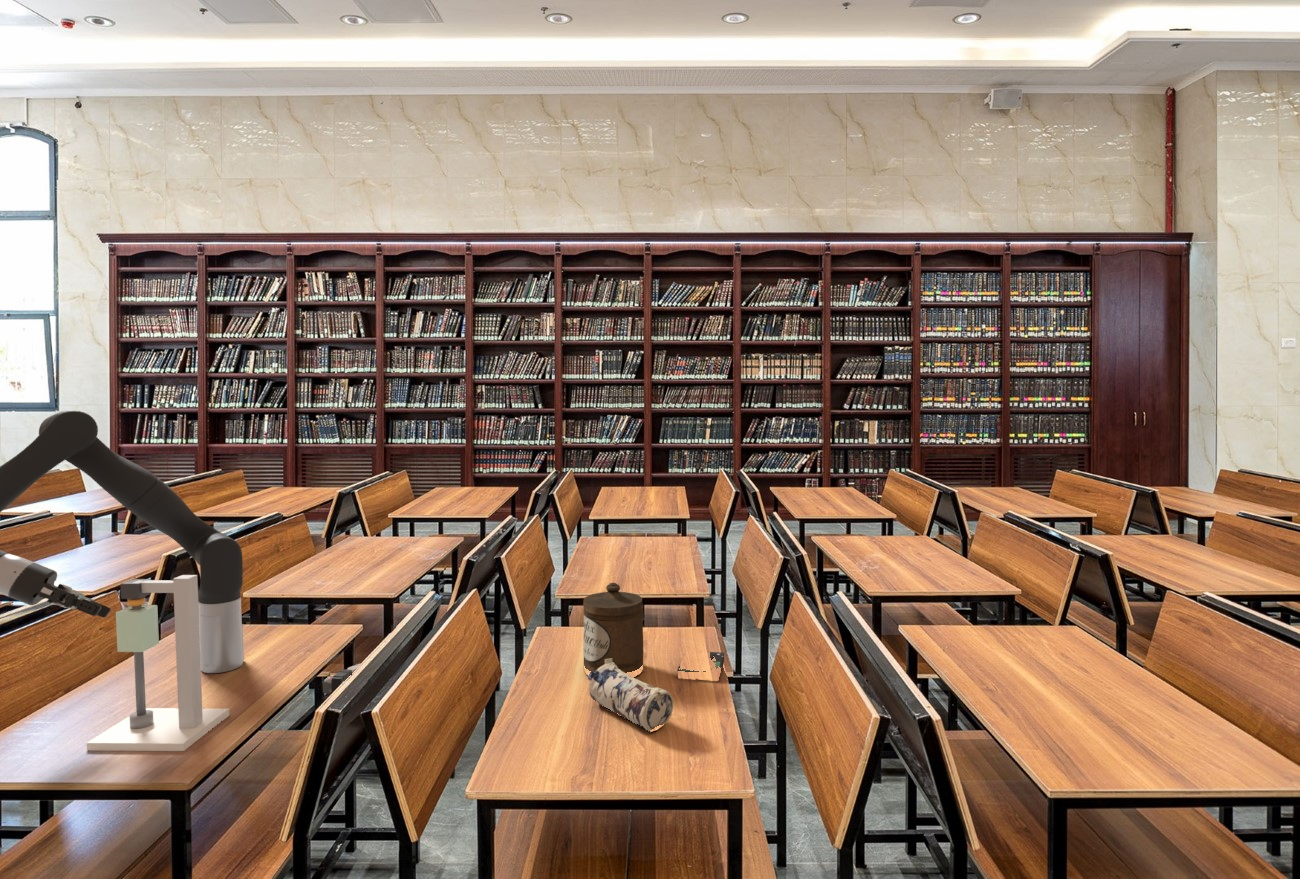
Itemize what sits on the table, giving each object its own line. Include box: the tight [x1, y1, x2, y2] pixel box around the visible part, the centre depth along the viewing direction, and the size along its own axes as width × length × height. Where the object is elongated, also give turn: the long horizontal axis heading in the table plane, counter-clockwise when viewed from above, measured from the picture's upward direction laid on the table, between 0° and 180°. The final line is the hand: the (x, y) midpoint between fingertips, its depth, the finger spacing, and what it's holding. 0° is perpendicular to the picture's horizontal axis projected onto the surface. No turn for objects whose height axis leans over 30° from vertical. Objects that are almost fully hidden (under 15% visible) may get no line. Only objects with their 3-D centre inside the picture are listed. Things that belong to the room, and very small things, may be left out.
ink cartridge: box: [331, 669, 352, 691], centre depth 167 cm, size 5×2×8 cm, turn 173°
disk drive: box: [677, 651, 725, 672], centre depth 191 cm, size 10×3×15 cm
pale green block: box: [115, 604, 160, 653], centre depth 154 cm, size 5×5×8 cm
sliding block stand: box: [86, 574, 230, 752], centre depth 155 cm, size 16×19×32 cm
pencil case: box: [587, 658, 674, 732], centre depth 164 cm, size 22×8×10 cm, turn 39°
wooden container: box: [582, 582, 644, 673], centre depth 190 cm, size 15×15×22 cm
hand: (103, 612), depth 158 cm, fingers open, 8 cm apart
